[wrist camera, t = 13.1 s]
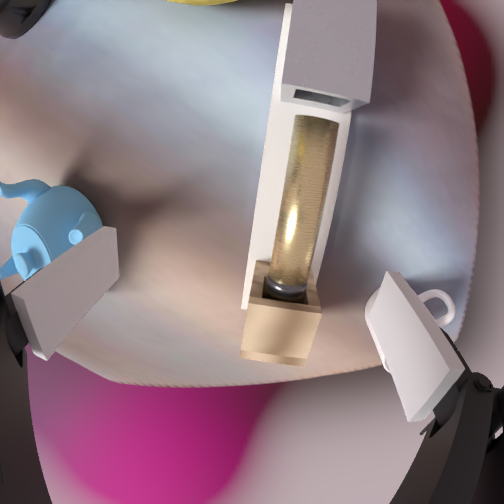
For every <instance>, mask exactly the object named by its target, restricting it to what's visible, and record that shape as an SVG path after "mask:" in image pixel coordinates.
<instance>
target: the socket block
mask: <svg viewBox="0 0 504 504" xmlns="http://www.w3.org/2000/svg"><path fill="white" fill-rule="evenodd" d="M269 268H270V262H265V261H259V260H256V264H255V269H254V274H253V279H252V285H251V290H250V295H249V301H248V307H247V313H246V319H245V326H244V332H243V339H242V345H241V351H240V358H244V359H250V360H257V361H264V362H271V363H278V364H286V365H295V366H304V364H305V362H306V359H307V356H308V353H309V350H310V348H311V345H312V342H313V339H314V336H315V333H316V330H317V327H318V324H319V321H320V318H321V315H322V312H321V307H320V302H319V298H318V293H317V289H316V284H315V280H314V276H313V272H312V269H310V272H309V276H308V282H307V286H306V290H305V293H304V296H303V300H302V304H297V303H290V302H283V301H277V300H270V299H264V295H265V290H266V281H267V276H268V272H269Z"/></svg>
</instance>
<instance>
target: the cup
mask: <svg viewBox="0 0 504 504" xmlns="http://www.w3.org/2000/svg"><path fill="white" fill-rule="evenodd" d="M379 290H380V288H378V289H377V290H376V291H375V292H374V293H373V294H372V295H371V297H370V298H369V300H368V302H367V304H366V307H365V319H366V322H367V325H368V327H369V330H370V332H371V334H372V337H373V340H374V342H375V345H376V347H377V350H378V352H379V355H380V358H381V360H382V363H383V366H384V368H385V369H386V370H387V371H388V372H389V373H391V372H390V369H389V367H388V364H387V361H386V359H385V356H384V354H383V351H382V349H381V346H380V344H379V341H378V339H377V336H376V334H375V332H374V329H373V327H372V325H371V322H370V320H369V318H368V317H369V315H370V312H371V310H372V307H373V305H374V302H375V300H376V297H377V295H378V292H379ZM412 290H413V289H412ZM413 291H414V290H413ZM415 294H416V293H415ZM416 295H417V294H416ZM417 296H418V298H419V299H420V301H421V302H422V303H424V302H425V301H427V300H428V299H430V298H433V297H438V298H440V299H442V300H443V301H444V302H445V304H446V305H447V308H448V313H447V314H445V315H444V316H442V317H440V318H438V319H436V320H435V319H434V317H433V316H432V315H431V313H430V312H429V310H428V309H427V308H426V306H425V305H424V304H423V305H424V306H425V308H426V309H427V310H428V312H429V313H430V315H431V316H432V317H433V319H434V320H435V322H436V323H437V325H438V326H439V327H440V328H442V327H444V326H445V325H447V324H448V323H450V322H451V321H452V319H453V318H454V316H455V312H456V309H455V305H454V302H453V301H452V299H451V297H450V296H449V295H448V294H447V293H445V292H444V291H442V290H439V289H432V290H428V291H425V292H423V293H421V294H419V295H417Z"/></svg>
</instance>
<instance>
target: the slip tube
mask: <svg viewBox="0 0 504 504" xmlns="http://www.w3.org/2000/svg"><path fill="white" fill-rule="evenodd" d="M338 130H339V123H337V122H335V121H332V120H328V119H324V118H320V117H315V116H308V115H295V117H294V124H293V130H292V137H291V143H290V149H289V156H288V162H287V168H286V175H285V181H284V187H283V193H282V199H281V205H280V211H279V217H278V222H277V228H276V234H275V240H274V245H273V251H272V257H271V262H270V268H269V272H268V276H267V281H266V290H265V295H264V299H270V300H277V301H283V302H290V303H297V304H302V300H303V296H304V293H305V290H306V286H307V282H308V276H309V272H310V268H311V264H312V260H313V256H314V252H315V247H316V243H317V239H318V234H319V230H320V225H321V221H322V216H323V211H324V206H325V202H326V197H327V192H328V187H329V181H330V176H331V171H332V165H333V160H334V154H335V148H336V142H337V136H338Z"/></svg>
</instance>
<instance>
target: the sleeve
mask: <svg viewBox="0 0 504 504" xmlns="http://www.w3.org/2000/svg"><path fill="white" fill-rule="evenodd" d="M376 19H377V0H293V6H292V13H291V20H290V27H289V34H288V41H287V48H286V55H285V62H284V68H283V75H282V82H281V97H280V102H287V103H293V104H299V105H304V106H309V107H314V108H319V109H324V110H329V111H333V112H337V113H342V114H343V113H346V112H348V111H350V110H353V109H355V108H358V107H360V106H363V105H365V104H368V103H370V96H371V87H372V78H373V68H374V56H375V41H376Z"/></svg>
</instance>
